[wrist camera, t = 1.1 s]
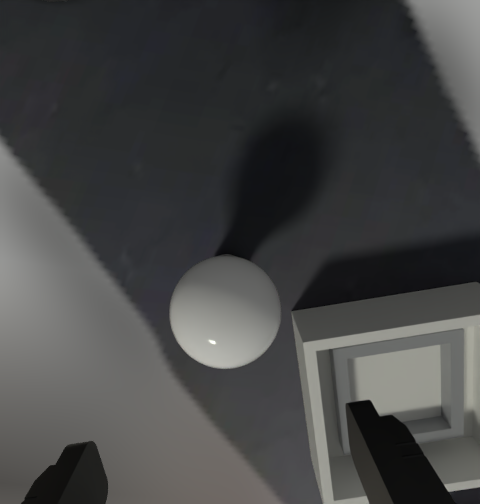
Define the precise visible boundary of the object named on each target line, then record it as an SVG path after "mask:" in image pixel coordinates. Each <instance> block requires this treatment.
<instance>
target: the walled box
mask: <svg viewBox="0 0 480 504" xmlns="http://www.w3.org/2000/svg"><path fill="white" fill-rule="evenodd" d="M291 313H292V321H293V328H294V335H295V343H296V350H297V357H298V365H299V372H300V379H301V387H302V394H303V402H304V409H305V416H306V424H307V431H308V438H309V446H310V453H311V460H312V463H313V467H314V471H315V475H316V479H317V483H318V486H319V490H320V494H321V498H322V502H323V504H369V501H368V499H367V496H366V493H365V491H364V488H363V486H362V483H361V481H360V478H359V476H358V473H357V470H356V468H355V465H354V462H353V459H352V455H351V451H350V446H349V438H348V428H347V419H346V409H345V404H346V403H349V402H356V401H362V400H371V402H372V403H373V405H374V407H375V409H376V411H377V412H378V414H379V416H386V415H393V416H394V417H396V418H397V419H398V420H399V421H401V422H402V423H403V424H405V425H406V426H407V428H408V429H409V431H410V432H411V434H412V435H413V437H414V439H415V440H416V443H418V445H419V446H420V448H421V450H422V451H423V453H424V456H426V457H427V459H428V461H429V462H430V464H431V465H432V467H433V468H434V470H435V472H436V473H437V475H438V476H439V478H440V479H441V481H442V483H443V484H444V486H445V487H446V489H447V490H448V492H451V491H457V490H464V489H471V488H478V487H480V283H478V282H471V283H465V284H459V285H453V286H446V287H440V288H434V289H428V290H421V291H415V292H409V293H403V294H396V295H390V296H384V297H378V298H371V299H365V300H359V301H353V302H346V303H340V304H334V305H328V306H321V307H315V308H309V309H303V310H296V311H291Z"/></svg>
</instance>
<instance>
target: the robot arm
mask: <svg viewBox="0 0 480 504" xmlns="http://www.w3.org/2000/svg"><path fill="white" fill-rule="evenodd" d="M45 1H50V2H53V1H67V0H45ZM345 409H346V419H347V428H348V438H349V446H350V451H351V455H352V459H353V462H354V465H355V468H356V470H357V473H358V476H359V478H360V481H361V483H362V486H363V488H364V491H365V493H366V496H367V499H368V501H369V504H456V503H455V502H454V500H453V498H452V497H451V495H450V494H449V492H448V490H447V489H446V487H445V486H444V484H443V483H442V481H441V479H440V478H439V476H438V475H437V473H436V472H435V470H434V468H433V467H432V465H431V464H430V462H429V461H428V459H427V457H426V456H424V453H423V451H422V450H421V448H420V446H419V445H418V443H416V440H415V439H414V437H413V435H412V434H411V432H410V431H409V429H408V428H407V426H406V425H405V424H403V423H402V422H401V421H399V420H398V419H397V418H396V417H394V416H393V415H386V416H379V414H378V412H377V411H376V409H375V407H374V405H373V403H372V402H371V400H362V401H356V402H349V403H346V404H345ZM107 494H108V481H107V477H106V474H105V471H104V468H103V464H102V462H101V458H100V455H99V452H98V449H97V446H96V444H95V443H94V442H93V441H89V442H83V443H76V444H70V445H68V446H66V447H65V449H64V450H63V452H62V454H61V456H60V458H59V459H58V461H57V463H56V465H51V466H49V467H48V468H47V469H46V470H45V471H44V472H43V473H42V474H41V475H40V476H39V477H38V478H37V479H36V480H35V481H34V483H33V485H32V486H31V488H30V490H29V492H28V493H27V495H26V497H25V500H24V501H23V502H22V503H21V504H105V503H106V500H107Z"/></svg>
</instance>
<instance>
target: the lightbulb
mask: <svg viewBox="0 0 480 504" xmlns="http://www.w3.org/2000/svg"><path fill="white" fill-rule="evenodd" d="M169 313H170V323H171V328H172V331H173V334H174V336H175V338H176V340H177V342H178V343H179V345H180V346H181V348H182V349H183V350H184V351H185V352H186V353H187V354H188V355H189V356H190V357H192V358H193V359H194V360H196V361H198V362H200V363H202V364H204V365H206V366H209V367H213V368H220V369H230V368H237V367H241V366H244V365H246V364H249V363H251V362H252V361H254V360H256V359H257V358H259V357H260V356H261V355H262V354H263V353H264V352H265V351H266V350H267V349H268V348H269V347H270V345H271V344H272V342H273V341H274V339H275V337H276V335H277V332H278V329H279V326H280V321H281V302H280V297H279V294H278V291H277V289H276V287H275V285H274V283H273V281H272V280H271V278H270V277H269V276H268V275H267V274H266V272H265V271H264V270H262V269H261V268H260V267H259V266H257V265H256V264H254V263H253V262H251V261H249V260H246V259H244V258H240V257H236V256H234V255H231V254H223V255H220V256H215V257H211V258H208V259H205V260H203V261H201V262H199V263H197V264H195V265H194V266H193V267H191V268H190V269H189V270H188V271H187V272H186V273H185V274H184V275H183V276H182V277H181V279H180V280H179V282H178V283H177V285H176V287H175V289H174V291H173V294H172V297H171V302H170V312H169Z"/></svg>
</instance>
